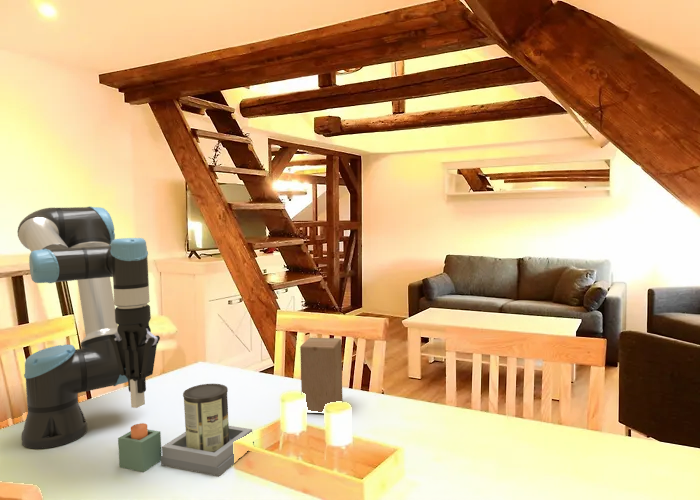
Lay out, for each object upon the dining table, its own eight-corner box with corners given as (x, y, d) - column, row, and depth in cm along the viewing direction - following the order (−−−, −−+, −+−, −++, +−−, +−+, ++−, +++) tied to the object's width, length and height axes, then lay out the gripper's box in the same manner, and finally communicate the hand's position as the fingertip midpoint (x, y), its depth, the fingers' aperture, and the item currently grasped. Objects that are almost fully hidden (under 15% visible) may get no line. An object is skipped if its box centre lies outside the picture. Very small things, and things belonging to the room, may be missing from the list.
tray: (161, 464, 122) (160, 446, 121) (201, 438, 135) (200, 421, 135) (218, 476, 116) (217, 456, 115) (254, 446, 130) (253, 429, 129)
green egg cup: (119, 467, 121) (117, 438, 120) (138, 455, 126) (137, 427, 126) (143, 472, 118) (141, 442, 118) (161, 460, 124) (160, 431, 123)
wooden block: (335, 415, 148) (333, 347, 147) (301, 413, 150) (299, 345, 149) (342, 402, 158) (341, 338, 156) (311, 401, 160) (309, 337, 158)
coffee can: (209, 434, 133) (207, 380, 132) (238, 443, 127) (236, 387, 126) (176, 450, 124) (173, 393, 123) (206, 461, 119) (203, 401, 117)
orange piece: (128, 449, 121) (127, 428, 121) (139, 442, 124) (138, 422, 124) (140, 451, 120) (139, 430, 119) (151, 444, 123) (150, 424, 123)
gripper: (166, 303, 120) (171, 403, 122) (122, 301, 125) (128, 397, 127) (143, 309, 113) (148, 414, 115) (97, 307, 118) (103, 408, 120)
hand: (138, 405), depth 121 cm, fingers closed
